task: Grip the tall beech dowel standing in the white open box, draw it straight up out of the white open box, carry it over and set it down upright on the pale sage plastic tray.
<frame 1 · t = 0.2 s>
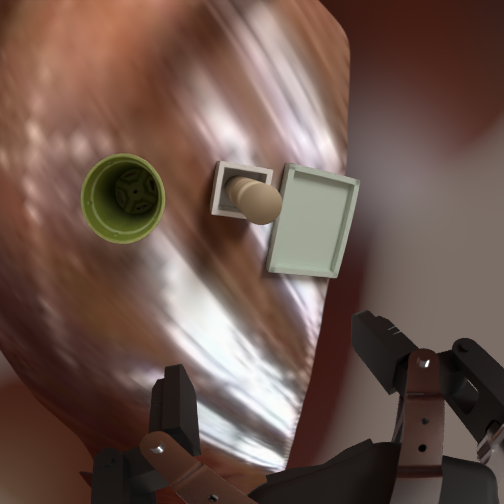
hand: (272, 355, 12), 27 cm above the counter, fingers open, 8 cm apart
dowel: (237, 188, 36), point 1 cm above the counter, touching white open box
plant pot: (137, 190, 34), on the counter
tray: (311, 221, 40), on the counter
white open box: (236, 187, 36), on the counter
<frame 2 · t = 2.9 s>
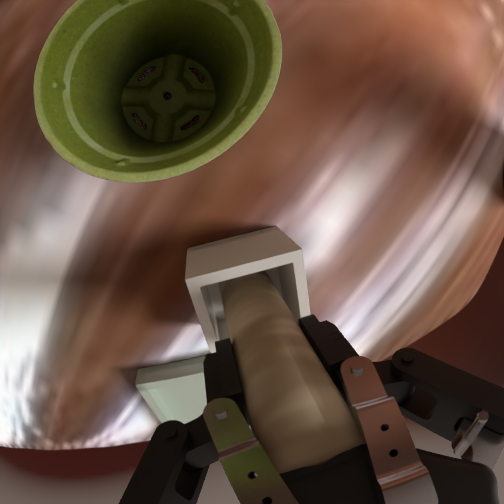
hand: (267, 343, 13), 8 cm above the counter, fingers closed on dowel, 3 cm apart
dowel: (243, 282, 19), point 1 cm above the counter, touching white open box, gripper
plant pot: (169, 99, 15), on the counter
tray: (237, 393, 24), on the counter
white open box: (241, 277, 20), on the counter
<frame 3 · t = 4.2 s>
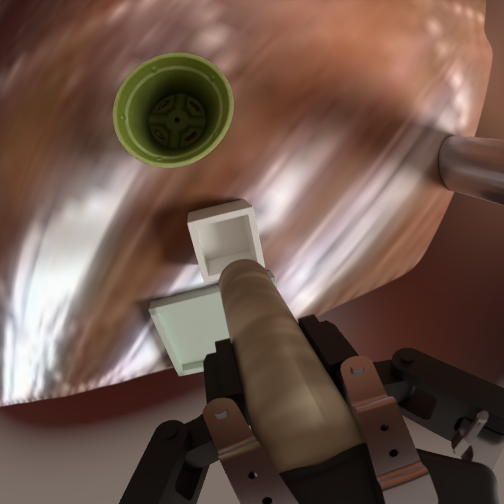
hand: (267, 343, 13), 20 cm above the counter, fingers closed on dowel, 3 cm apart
dowel: (243, 282, 19), point 13 cm above the counter, touching gripper
plant pot: (178, 121, 26), on the counter
tray: (220, 323, 35), on the counter
white open box: (222, 232, 31), on the counter
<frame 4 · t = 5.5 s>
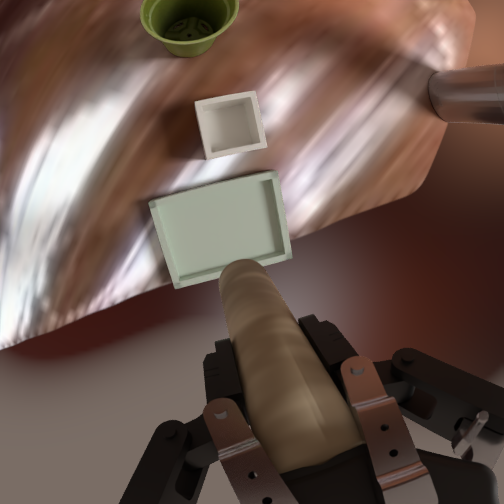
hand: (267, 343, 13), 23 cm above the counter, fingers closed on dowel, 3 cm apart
dowel: (243, 282, 19), point 16 cm above the counter, touching gripper
plant pot: (189, 38, 26), on the counter
tray: (222, 227, 34), on the counter
white open box: (226, 128, 30), on the counter
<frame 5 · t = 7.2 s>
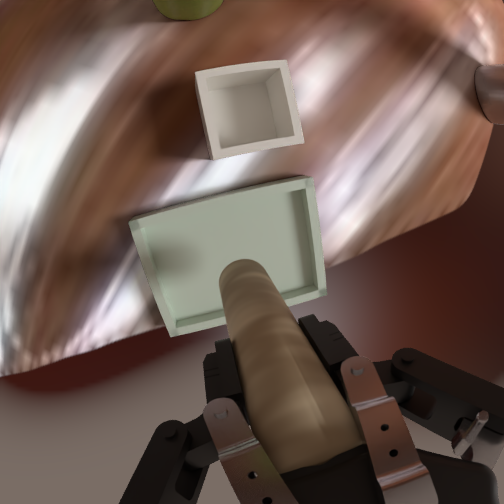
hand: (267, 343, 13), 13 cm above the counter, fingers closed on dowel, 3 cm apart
dowel: (243, 282, 19), point 6 cm above the counter, touching gripper
tray: (233, 254, 25), on the counter
white open box: (239, 116, 21), on the counter
when the fingers open (8 cm above the counter, at t = 8.5 s): dowel stays where it is, resting on tray.
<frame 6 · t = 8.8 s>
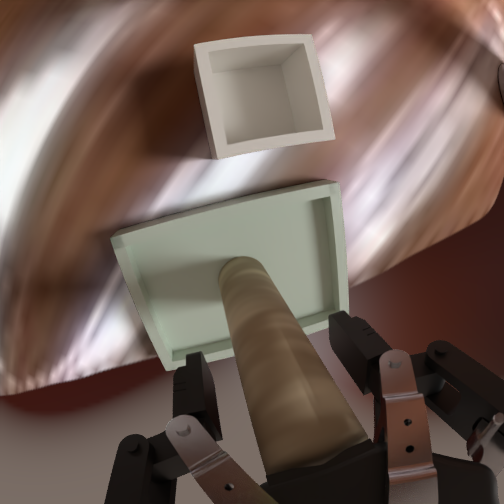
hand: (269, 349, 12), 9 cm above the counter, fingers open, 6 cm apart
dowel: (242, 279, 20), point 1 cm above the counter, touching tray
tray: (240, 275, 20), on the counter
white open box: (249, 105, 17), on the counter
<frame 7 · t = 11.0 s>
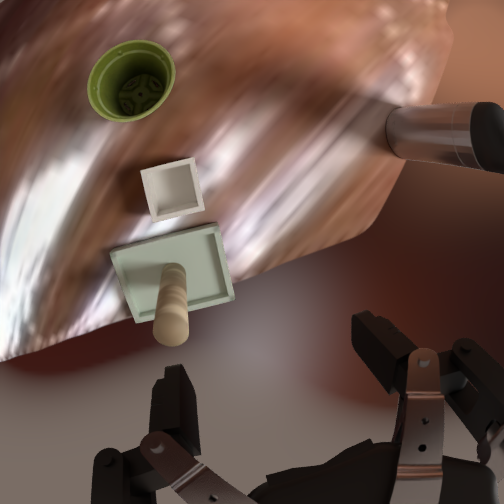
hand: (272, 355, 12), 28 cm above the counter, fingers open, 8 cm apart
dowel: (173, 274, 38), point 1 cm above the counter, touching tray
plant pot: (141, 96, 30), on the counter
tray: (173, 272, 38), on the counter
white open box: (174, 186, 35), on the counter
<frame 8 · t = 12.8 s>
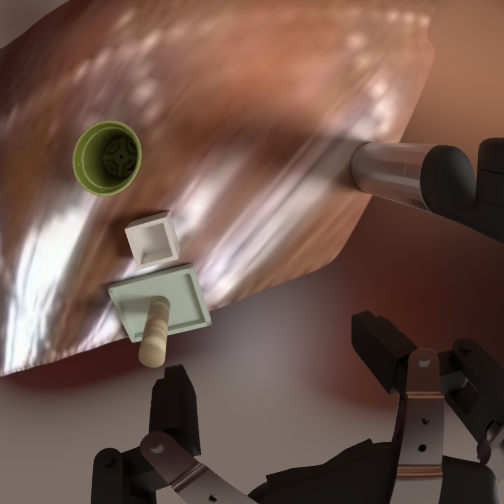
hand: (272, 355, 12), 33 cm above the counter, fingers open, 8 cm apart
dowel: (160, 304, 45), point 1 cm above the counter, touching tray
plant pot: (122, 157, 37), on the counter
tray: (160, 302, 46), on the counter
white open box: (156, 234, 42), on the counter
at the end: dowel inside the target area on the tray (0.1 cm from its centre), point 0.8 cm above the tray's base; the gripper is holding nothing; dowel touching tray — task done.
